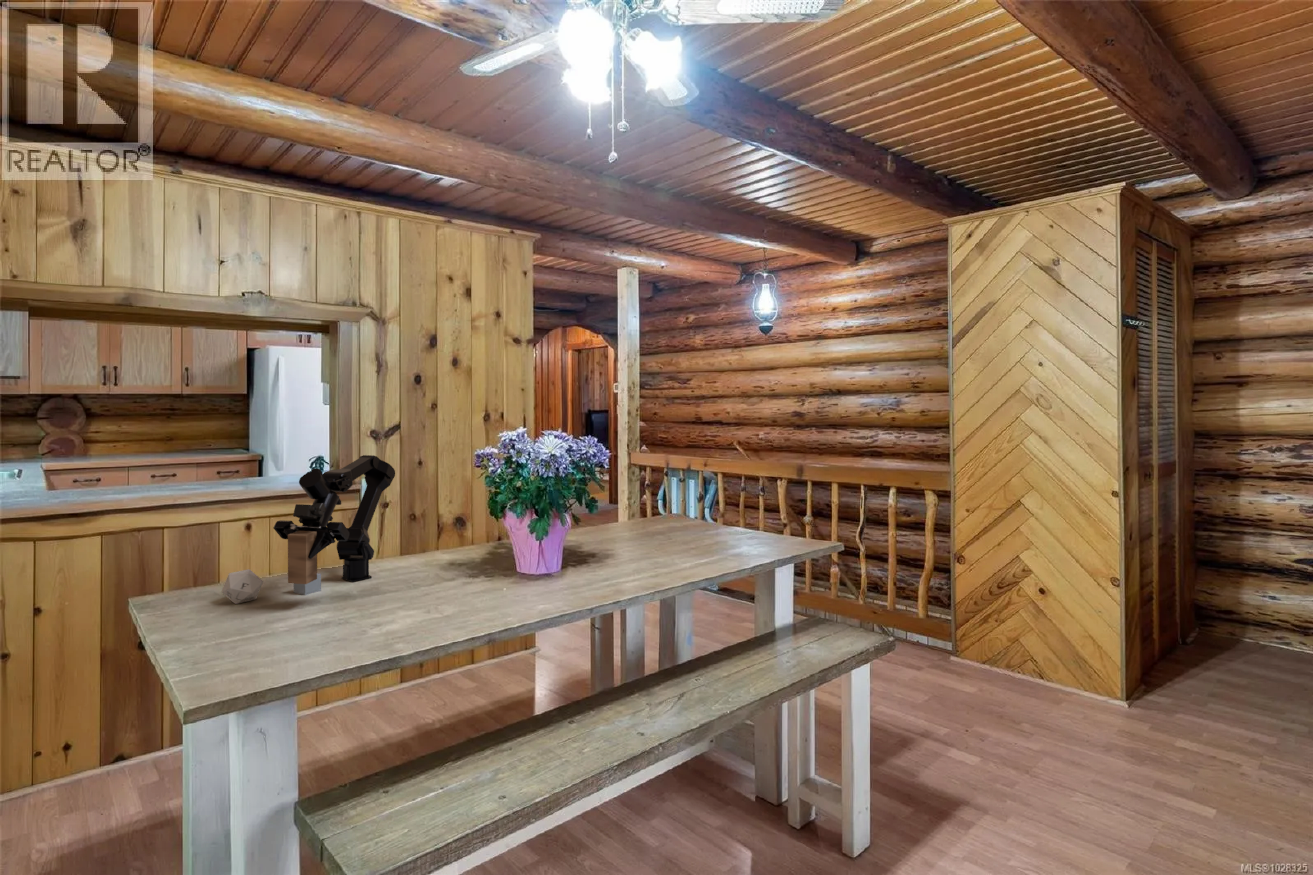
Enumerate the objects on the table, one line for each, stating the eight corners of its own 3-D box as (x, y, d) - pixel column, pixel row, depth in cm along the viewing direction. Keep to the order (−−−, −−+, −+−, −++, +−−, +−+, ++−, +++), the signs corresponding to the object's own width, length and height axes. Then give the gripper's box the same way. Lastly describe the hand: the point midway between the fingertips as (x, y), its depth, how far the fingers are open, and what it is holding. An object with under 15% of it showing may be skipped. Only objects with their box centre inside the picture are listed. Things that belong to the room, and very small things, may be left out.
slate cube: (309, 588, 194) (309, 571, 194) (321, 590, 192) (320, 573, 192) (293, 592, 190) (293, 575, 190) (305, 595, 188) (305, 578, 187)
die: (214, 607, 178) (225, 581, 174) (224, 583, 185) (235, 558, 181) (249, 614, 182) (260, 589, 178) (258, 590, 189) (269, 566, 185)
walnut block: (299, 577, 181) (299, 530, 180) (317, 578, 180) (317, 531, 179) (287, 583, 176) (287, 534, 175) (306, 584, 175) (306, 535, 174)
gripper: (276, 491, 181) (250, 540, 170) (343, 493, 180) (321, 542, 169) (294, 514, 189) (270, 562, 179) (358, 516, 188) (338, 564, 178)
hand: (299, 557), depth 176 cm, fingers closed on walnut block, 5 cm apart
